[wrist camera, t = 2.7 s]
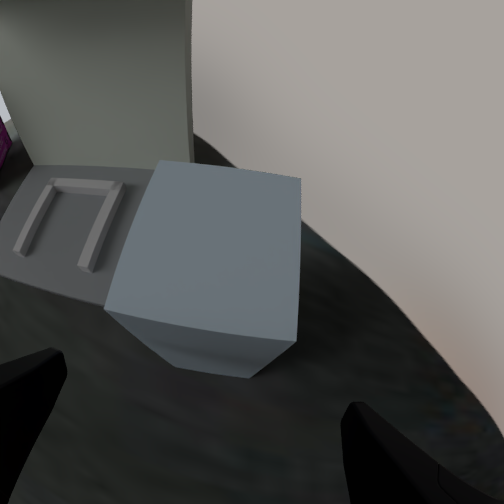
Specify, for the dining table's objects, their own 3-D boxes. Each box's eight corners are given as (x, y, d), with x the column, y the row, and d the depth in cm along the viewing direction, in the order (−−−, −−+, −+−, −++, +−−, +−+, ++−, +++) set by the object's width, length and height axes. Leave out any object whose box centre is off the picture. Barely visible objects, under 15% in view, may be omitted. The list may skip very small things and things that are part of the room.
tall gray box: (249, 378, 18) (296, 341, 7) (174, 366, 17) (103, 309, 7) (257, 302, 20) (301, 178, 10) (188, 292, 20) (159, 160, 9)
